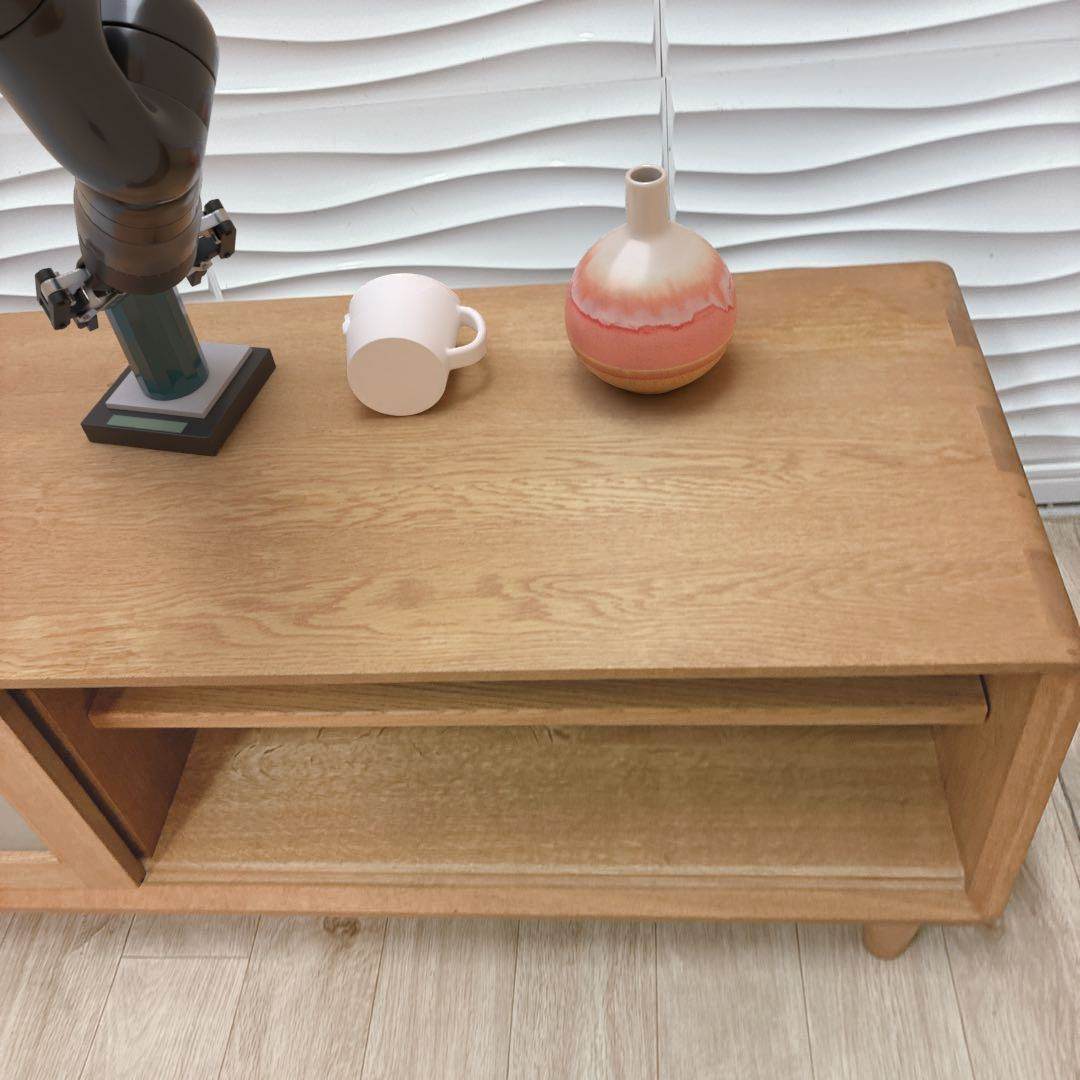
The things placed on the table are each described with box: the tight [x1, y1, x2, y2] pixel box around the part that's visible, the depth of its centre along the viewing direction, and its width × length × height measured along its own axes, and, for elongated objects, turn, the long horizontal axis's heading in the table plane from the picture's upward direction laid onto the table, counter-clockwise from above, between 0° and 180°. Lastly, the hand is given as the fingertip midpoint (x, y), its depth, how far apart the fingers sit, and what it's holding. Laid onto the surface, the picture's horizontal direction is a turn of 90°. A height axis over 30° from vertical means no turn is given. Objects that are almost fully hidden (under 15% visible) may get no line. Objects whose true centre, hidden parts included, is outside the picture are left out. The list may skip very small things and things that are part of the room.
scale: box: [80, 340, 277, 457], centre depth 92 cm, size 12×12×3 cm
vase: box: [564, 163, 738, 395], centre depth 84 cm, size 14×14×18 cm
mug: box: [342, 272, 489, 417], centre depth 89 cm, size 12×9×8 cm
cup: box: [103, 285, 209, 401], centre depth 87 cm, size 6×6×11 cm
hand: (138, 296), depth 84 cm, fingers open, 8 cm apart
